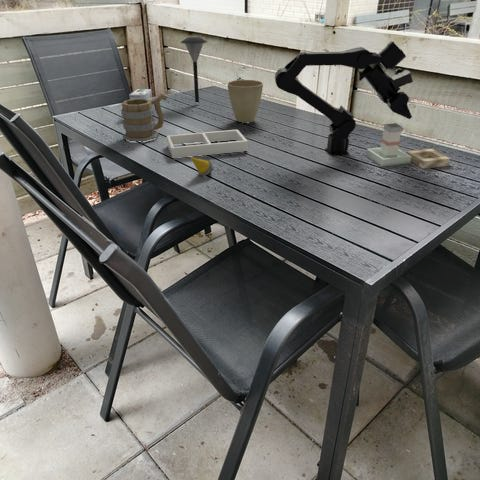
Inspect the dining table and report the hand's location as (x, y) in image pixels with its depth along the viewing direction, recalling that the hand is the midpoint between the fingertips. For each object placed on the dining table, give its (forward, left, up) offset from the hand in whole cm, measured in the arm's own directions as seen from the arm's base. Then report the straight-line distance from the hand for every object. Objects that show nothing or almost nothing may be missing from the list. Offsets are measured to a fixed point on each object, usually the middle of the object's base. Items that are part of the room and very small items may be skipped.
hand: (406, 114), depth 149 cm
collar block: (+4, -11, -14) cm, 18 cm away
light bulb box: (-84, +73, -14) cm, 113 cm away
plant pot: (-42, +52, -14) cm, 69 cm away
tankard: (-84, +43, -14) cm, 96 cm away
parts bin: (-65, +22, -14) cm, 70 cm away
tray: (-8, -5, -14) cm, 16 cm away
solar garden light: (-57, +85, -14) cm, 104 cm away
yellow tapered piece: (-71, -2, -14) cm, 73 cm away
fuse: (-8, -5, -13) cm, 16 cm away
